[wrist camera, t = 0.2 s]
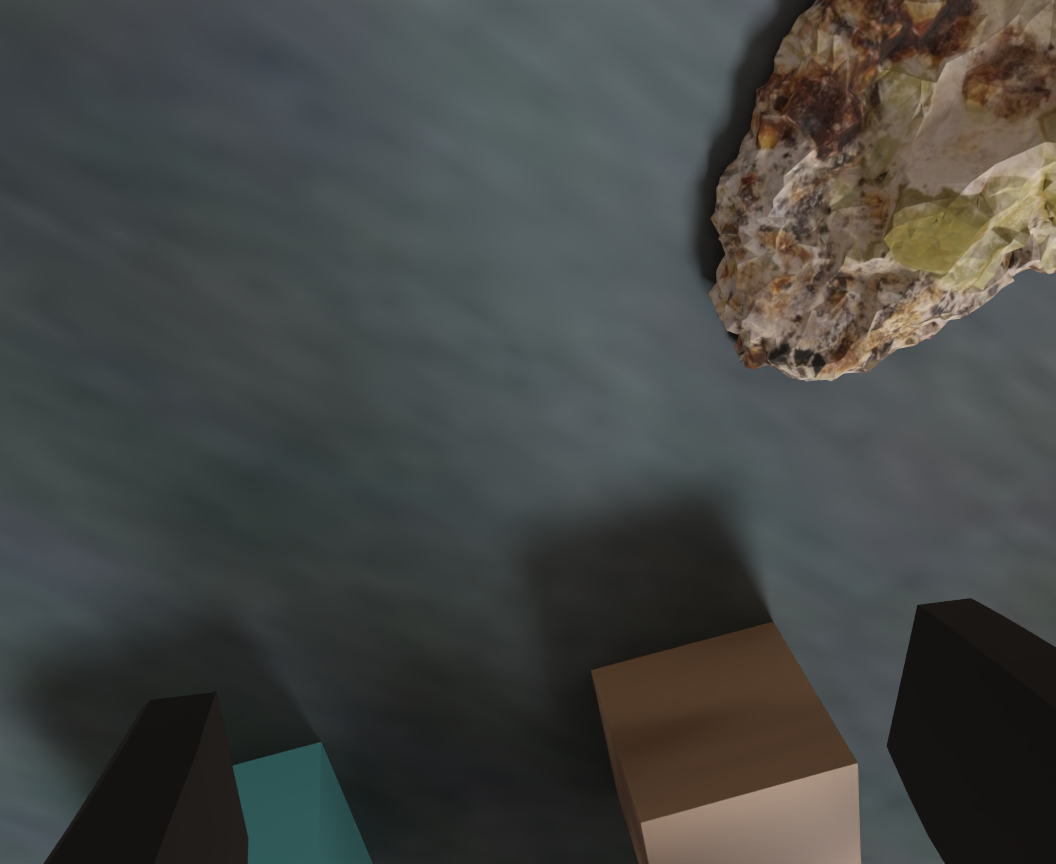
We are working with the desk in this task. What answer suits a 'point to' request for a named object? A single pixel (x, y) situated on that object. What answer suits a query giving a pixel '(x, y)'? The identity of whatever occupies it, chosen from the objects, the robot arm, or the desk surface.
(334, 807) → the teal block
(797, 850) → the walnut block
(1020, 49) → the mineral rock
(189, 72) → the desk surface
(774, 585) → the desk surface
